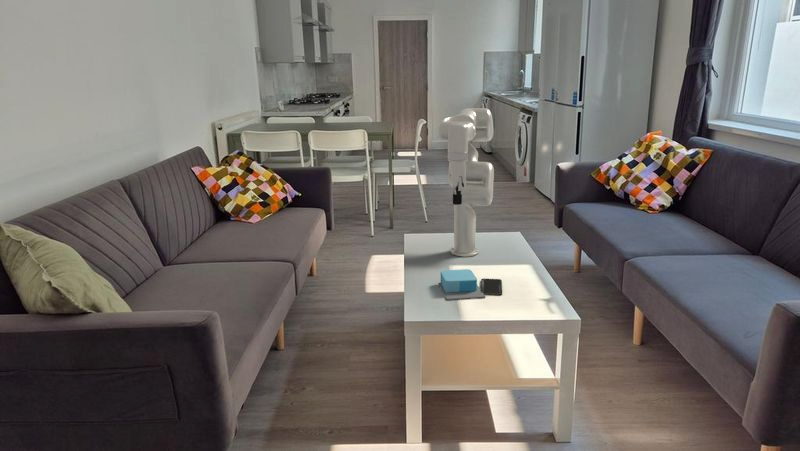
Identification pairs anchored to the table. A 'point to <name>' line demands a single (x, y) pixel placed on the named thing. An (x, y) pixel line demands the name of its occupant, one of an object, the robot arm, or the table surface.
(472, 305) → the table surface
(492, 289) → the phone
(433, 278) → the table surface
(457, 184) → the robot arm
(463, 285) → the data package
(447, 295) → the mat
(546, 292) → the table surface
